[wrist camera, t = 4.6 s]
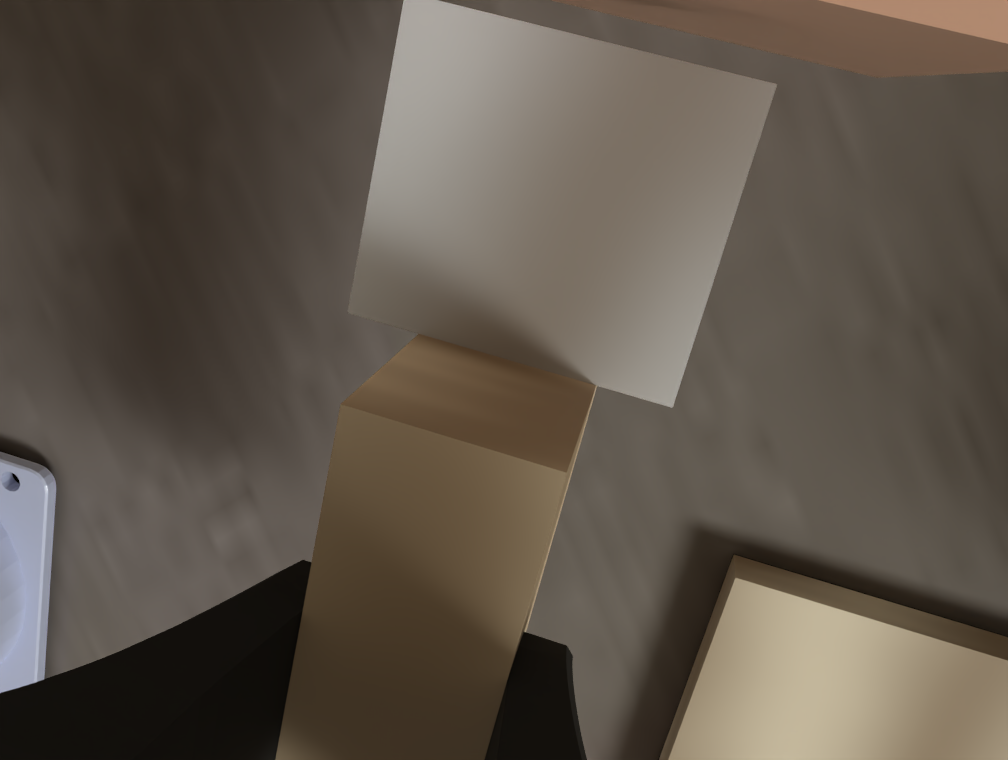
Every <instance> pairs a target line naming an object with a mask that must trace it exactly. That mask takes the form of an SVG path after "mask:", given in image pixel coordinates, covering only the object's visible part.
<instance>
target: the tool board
mask: <svg viewBox="0 0 1008 760" xmlns="http://www.w3.org/2000/svg"><path fill="white" fill-rule="evenodd" d="M659 760H1008V637H1005V636H1002V635H999V634H995V633H992V632H989V631H985V630H982V629H979V628H975V627H972V626H969V625H965V624H962V623H959V622H955V621H952V620H949V619H946V618H942V617H939V616H936V615H932V614H929V613H926V612H922V611H919V610H916V609H912V608H909V607H906V606H902V605H899V604H896V603H893V602H889V601H886V600H883V599H879V598H876V597H873V596H869V595H866V594H863V593H859V592H856V591H853V590H849V589H846V588H843V587H840V586H836V585H833V584H830V583H826V582H823V581H820V580H816V579H813V578H810V577H806V576H803V575H800V574H796V573H793V572H790V571H787V570H783V569H780V568H777V567H773V566H770V565H767V564H763V563H760V562H757V561H753V560H750V559H747V558H743V557H740V556H737V555H733V558H732V560H731V563H730V566H729V569H728V571H727V574H726V577H725V580H724V582H723V585H722V588H721V591H720V593H719V596H718V599H717V602H716V604H715V607H714V610H713V613H712V615H711V618H710V621H709V624H708V626H707V629H706V632H705V635H704V637H703V640H702V643H701V645H700V648H699V651H698V654H697V656H696V659H695V662H694V665H693V667H692V670H691V673H690V676H689V678H688V681H687V684H686V687H685V689H684V692H683V695H682V698H681V700H680V703H679V706H678V709H677V711H676V714H675V717H674V720H673V722H672V725H671V728H670V731H669V733H668V736H667V739H666V742H665V744H664V747H663V750H662V753H661V755H660V758H659Z"/></svg>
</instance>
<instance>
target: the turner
mask: <svg viewBox="0 0 1008 760" xmlns="http://www.w3.org/2000/svg"><path fill="white" fill-rule="evenodd" d="M776 86H777V84H774V83H770V82H766V81H762V80H758V79H754V78H749V77H745V76H741V75H737V74H733V73H729V72H725V71H721V70H717V69H713V68H709V67H705V66H701V65H697V64H693V63H689V62H685V61H681V60H677V59H673V58H669V57H665V56H661V55H657V54H652V53H648V52H644V51H640V50H636V49H632V48H628V47H624V46H620V45H616V44H612V43H608V42H604V41H600V40H596V39H592V38H588V37H584V36H580V35H576V34H572V33H568V32H564V31H560V30H555V29H551V28H547V27H543V26H539V25H535V24H531V23H527V22H523V21H519V20H515V19H511V18H507V17H503V16H499V15H495V14H491V13H487V12H483V11H479V10H475V9H471V8H467V7H463V6H458V5H454V4H450V3H446V2H442V1H438V0H404V2H403V7H402V13H401V19H400V24H399V30H398V35H397V41H396V46H395V52H394V58H393V63H392V69H391V74H390V80H389V85H388V91H387V96H386V102H385V108H384V113H383V119H382V124H381V130H380V135H379V141H378V147H377V152H376V158H375V163H374V169H373V174H372V180H371V185H370V191H369V197H368V202H367V208H366V213H365V219H364V224H363V230H362V236H361V241H360V247H359V252H358V258H357V263H356V269H355V274H354V280H353V286H352V291H351V297H350V302H349V308H348V313H349V314H353V315H356V316H360V317H363V318H366V319H370V320H373V321H377V322H380V323H384V324H387V325H390V326H394V327H397V328H401V329H404V330H408V331H411V332H414V333H418V335H417V336H416V337H415V338H414V339H413V340H412V341H411V342H409V343H408V344H407V345H406V346H405V347H404V348H403V349H402V350H400V351H399V352H398V353H397V354H396V355H395V356H394V357H393V358H392V359H390V360H389V361H388V362H387V363H386V364H385V365H384V366H383V367H382V368H380V369H379V370H378V371H377V372H376V373H375V374H374V375H373V376H371V377H370V378H369V379H368V380H367V381H366V382H365V383H364V384H363V385H361V386H360V387H359V388H358V389H357V390H356V391H355V392H354V393H353V394H351V395H350V396H349V397H348V398H347V399H346V400H345V401H344V402H342V403H341V405H340V410H339V416H338V421H337V427H336V432H335V438H334V443H333V449H332V454H331V459H330V465H329V470H328V476H327V481H326V487H325V492H324V497H323V503H322V508H321V514H320V519H319V525H318V530H317V536H316V541H315V546H314V552H313V557H312V563H311V568H310V574H309V579H308V585H307V590H306V595H305V601H304V606H303V612H302V617H301V623H300V628H299V634H298V639H297V644H296V650H295V655H294V661H293V666H292V672H291V677H290V683H289V688H288V693H287V699H286V704H285V710H284V715H283V721H282V726H281V732H280V737H279V742H278V748H277V753H276V759H275V760H485V757H486V753H487V750H488V746H489V743H490V739H491V736H492V732H493V729H494V725H495V722H496V718H497V715H498V711H499V708H500V704H501V701H502V697H503V694H504V690H505V687H506V683H507V680H508V676H509V673H510V670H511V667H512V664H513V661H514V658H515V655H516V652H517V649H518V646H519V643H520V640H521V638H522V635H523V632H526V630H527V627H528V623H529V620H530V616H531V613H532V609H533V606H534V602H535V599H536V595H537V592H538V588H539V585H540V582H541V578H542V575H543V571H544V568H545V564H546V561H547V557H548V554H549V550H550V547H551V543H552V540H553V537H554V533H555V530H556V526H557V523H558V519H559V516H560V512H561V509H562V505H563V502H564V499H565V495H566V492H567V488H568V485H569V481H570V478H571V474H572V471H573V467H574V464H575V460H576V457H577V454H578V450H579V447H580V443H581V440H582V436H583V433H584V429H585V426H586V422H587V419H588V416H589V412H590V409H591V405H592V402H593V398H594V395H595V391H596V388H597V386H600V387H603V388H606V389H610V390H613V391H617V392H620V393H624V394H627V395H630V396H634V397H637V398H641V399H644V400H648V401H651V402H655V403H658V404H661V405H665V406H668V407H672V408H673V405H674V402H675V399H676V396H677V392H678V389H679V386H680V383H681V380H682V377H683V374H684V371H685V368H686V365H687V362H688V358H689V355H690V352H691V349H692V346H693V343H694V340H695V337H696V334H697V331H698V328H699V324H700V321H701V318H702V315H703V312H704V309H705V306H706V303H707V300H708V297H709V293H710V290H711V287H712V284H713V281H714V278H715V275H716V272H717V269H718V266H719V263H720V259H721V256H722V253H723V250H724V247H725V244H726V241H727V238H728V235H729V232H730V229H731V225H732V222H733V219H734V216H735V213H736V210H737V207H738V204H739V201H740V198H741V195H742V191H743V188H744V185H745V182H746V179H747V176H748V173H749V170H750V167H751V164H752V161H753V157H754V154H755V151H756V148H757V145H758V142H759V139H760V136H761V133H762V130H763V127H764V123H765V120H766V117H767V114H768V111H769V108H770V105H771V102H772V99H773V96H774V93H775V89H776Z"/></svg>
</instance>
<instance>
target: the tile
mask: <svg viewBox="0 0 1008 760" xmlns="http://www.w3.org/2000/svg"><path fill="white" fill-rule="evenodd" d="M552 1H556V2H560V3H565V4H569V5H573V6H577V7H581V8H586V9H590V10H594V11H598V12H602V13H607V14H611V15H615V16H619V17H623V18H628V19H632V20H636V21H640V22H645V23H649V24H653V25H657V26H661V27H666V28H670V29H674V30H678V31H682V32H687V33H691V34H695V35H699V36H703V37H708V38H712V39H716V40H720V41H724V42H729V43H733V44H737V45H741V46H746V47H750V48H754V49H758V50H762V51H767V52H771V53H775V54H779V55H783V56H788V57H792V58H796V59H800V60H804V61H809V62H813V63H817V64H821V65H825V66H830V67H834V68H838V69H842V70H847V71H851V72H855V73H859V74H863V75H868V76H872V77H876V78H881V77H903V76H924V75H946V74H968V73H990V72H1008V0H552Z"/></svg>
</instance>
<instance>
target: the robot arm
mask: <svg viewBox="0 0 1008 760" xmlns="http://www.w3.org/2000/svg"><path fill="white" fill-rule="evenodd" d="M12 473H13V474H15V475H16V476H17V477H18V479H19V482H20V484H19V483H18V482H16V481H15V479H14V478H13V475H12ZM55 500H56V482H55V479H54V477H53V475H52V473H51V472H50V471H49V470H48V469H47V468H46V467H44V466H42V465H40V464H38V463H34V462H31V461H28V460H25V459H22V458H19V457H16V456H12V455H9V454H6V453H3V452H0V760H275V759H276V753H277V748H278V742H279V737H280V732H281V726H282V721H283V715H284V710H285V704H286V699H287V693H288V688H289V683H290V677H291V672H292V666H293V661H294V655H295V650H296V644H297V639H298V634H299V628H300V623H301V617H302V612H303V606H304V601H305V595H306V590H307V585H308V579H309V574H310V568H311V562H308V561H305V560H302V561H300V562H298V563H296V564H294V565H292V566H290V567H288V568H286V569H284V570H282V571H280V572H278V573H276V574H275V575H273V576H271V577H269V578H267V579H265V580H263V581H262V582H260V583H258V584H256V585H254V586H252V587H251V588H249V589H247V590H245V591H243V592H241V593H239V594H238V595H236V596H234V597H232V598H230V599H228V600H226V601H224V602H222V603H221V604H219V605H217V606H215V607H213V608H211V609H209V610H207V611H205V612H203V613H201V614H199V615H197V616H195V617H193V618H191V619H189V620H187V621H185V622H183V623H181V624H179V625H177V626H175V627H173V628H171V629H168V630H166V631H164V632H162V633H159V634H157V635H155V636H153V637H151V638H148V639H146V640H144V641H142V642H139V643H137V644H135V645H133V646H131V647H128V648H126V649H124V650H122V651H119V652H117V653H114V654H112V655H110V656H107V657H105V658H102V659H100V660H97V661H94V662H92V663H89V664H86V665H84V666H81V667H78V668H76V669H73V670H70V671H67V672H64V673H61V674H58V675H55V676H52V677H50V678H47V679H44V674H45V658H46V642H47V626H48V611H49V595H50V579H51V563H52V547H53V531H54V516H55ZM572 658H573V656H572V654H571V652H570V650H569V649H568V647H567V646H566V645H563V644H560V643H557V642H554V641H551V640H548V639H545V638H542V637H539V636H535V635H532V634H529V633H526V632H523V635H522V638H521V640H520V643H519V646H518V649H517V652H516V655H515V658H514V661H513V664H512V667H511V670H510V673H509V676H508V680H507V683H506V687H505V690H504V694H503V697H502V701H501V704H500V708H499V711H498V715H497V718H496V722H495V725H494V729H493V732H492V736H491V739H490V743H489V746H488V750H487V753H486V757H485V760H587V758H586V754H585V750H584V745H583V741H582V737H581V732H580V726H579V721H578V715H577V709H576V702H575V695H574V686H573V673H572Z"/></svg>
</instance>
